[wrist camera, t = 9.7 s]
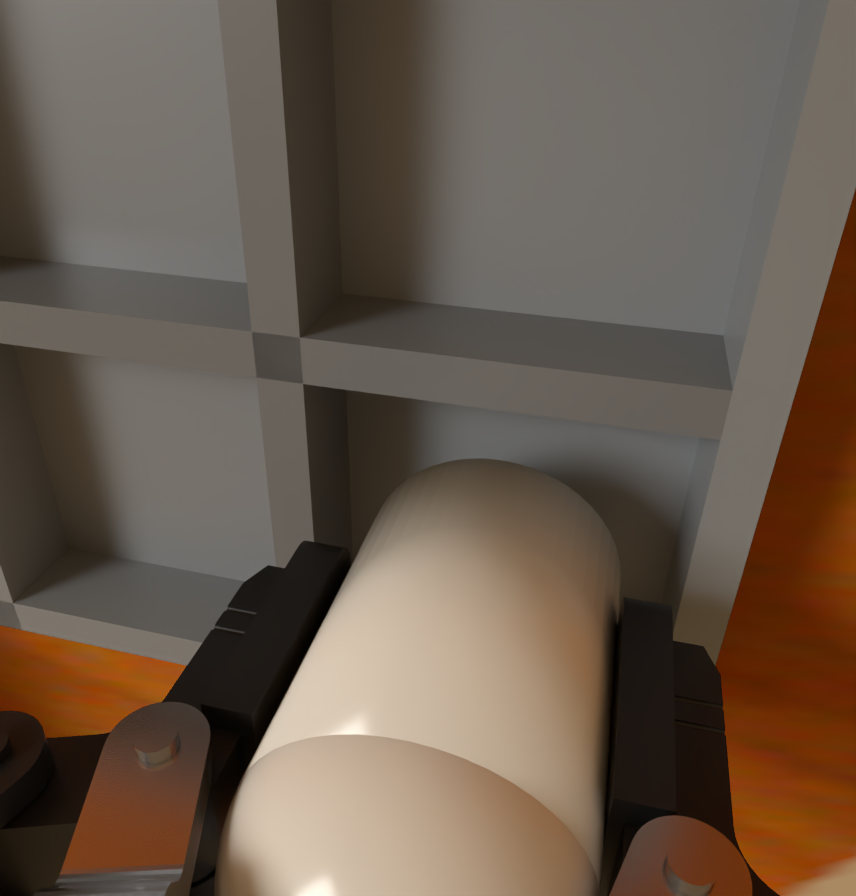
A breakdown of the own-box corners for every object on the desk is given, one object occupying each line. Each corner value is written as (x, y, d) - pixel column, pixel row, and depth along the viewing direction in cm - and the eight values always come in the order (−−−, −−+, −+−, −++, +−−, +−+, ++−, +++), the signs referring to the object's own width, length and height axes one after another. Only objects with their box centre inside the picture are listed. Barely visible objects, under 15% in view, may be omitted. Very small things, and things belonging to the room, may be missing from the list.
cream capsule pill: (369, 440, 13) (91, 895, 7) (639, 480, 12) (617, 1044, 6) (374, 633, 16) (171, 1111, 9) (602, 678, 15) (557, 1241, 8)
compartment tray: (-161, -222, 12) (-329, -260, 10) (925, -252, 9) (1002, -315, 7) (60, 555, 20) (-9, 623, 18) (680, 674, 17) (683, 772, 15)
